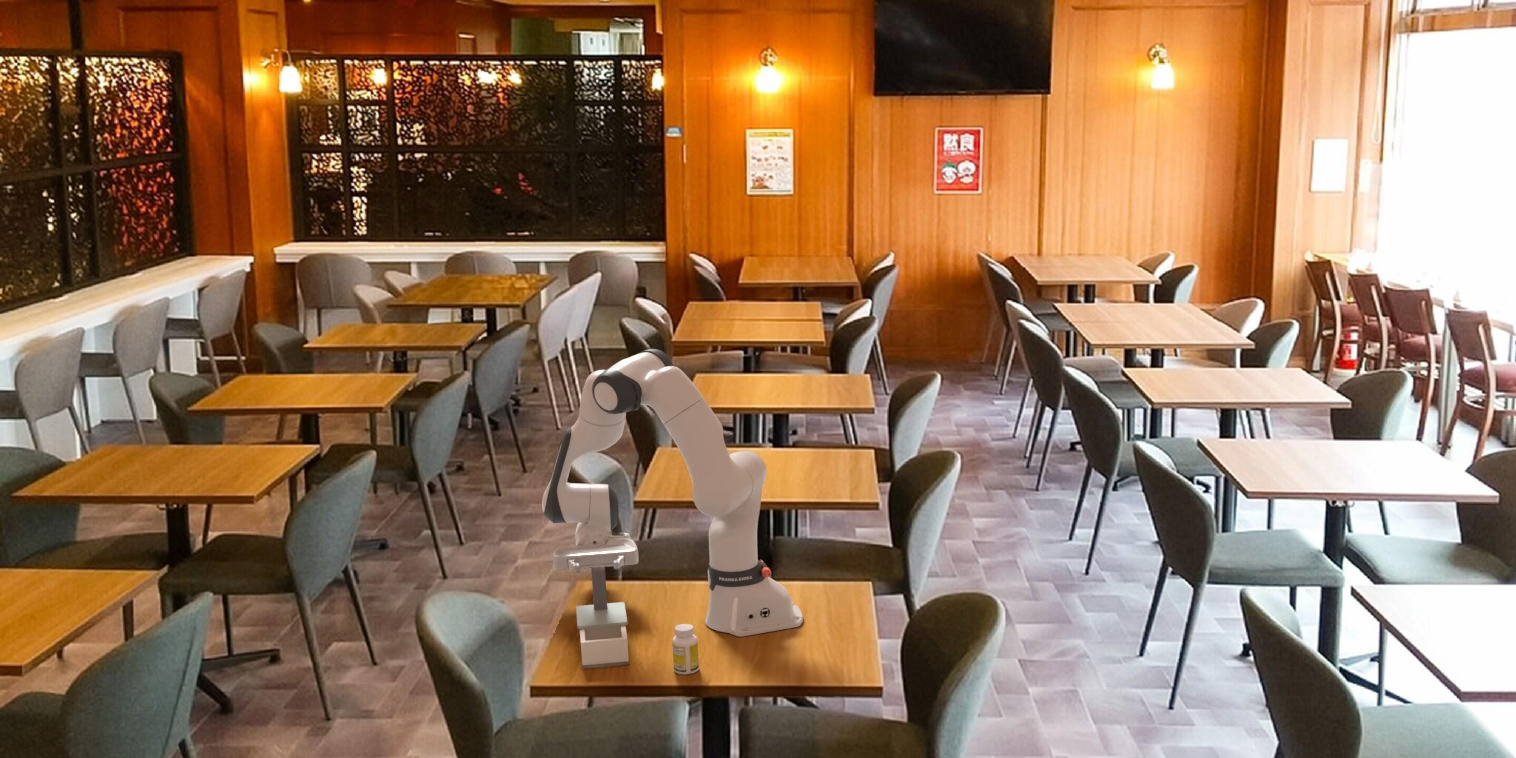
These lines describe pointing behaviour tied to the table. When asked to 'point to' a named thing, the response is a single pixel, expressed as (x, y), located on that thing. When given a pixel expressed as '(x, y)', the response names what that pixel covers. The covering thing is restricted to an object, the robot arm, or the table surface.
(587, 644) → the carton
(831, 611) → the table surface
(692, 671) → the supplement bottle
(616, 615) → the carton lid
